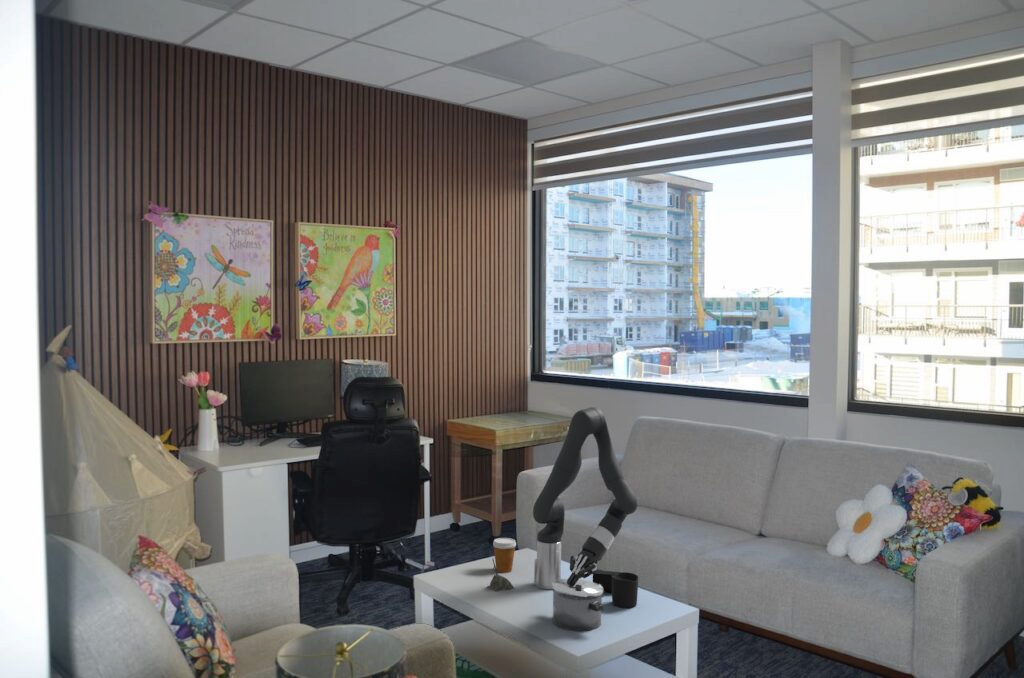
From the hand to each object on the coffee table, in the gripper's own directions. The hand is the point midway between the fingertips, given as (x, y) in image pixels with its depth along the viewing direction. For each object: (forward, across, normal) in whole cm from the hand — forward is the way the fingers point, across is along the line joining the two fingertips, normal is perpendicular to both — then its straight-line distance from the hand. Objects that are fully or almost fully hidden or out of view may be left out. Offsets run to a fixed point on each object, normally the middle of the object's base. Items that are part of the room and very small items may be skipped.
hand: (569, 584), depth 259 cm
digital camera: (-14, -19, +33) cm, 41 cm away
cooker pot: (+7, 0, +12) cm, 13 cm away
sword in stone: (+8, -43, +10) cm, 45 cm away
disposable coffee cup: (-1, -60, +19) cm, 63 cm away
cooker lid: (-1, 0, +4) cm, 4 cm away
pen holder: (-11, -5, +30) cm, 32 cm away
